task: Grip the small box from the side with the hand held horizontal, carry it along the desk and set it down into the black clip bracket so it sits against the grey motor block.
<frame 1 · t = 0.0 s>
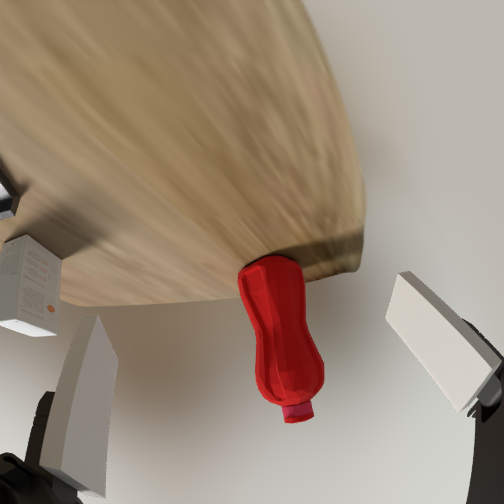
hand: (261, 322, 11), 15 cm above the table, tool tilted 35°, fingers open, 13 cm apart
small box: (33, 250, 29), on the table
water bottle: (270, 266, 47), on the table
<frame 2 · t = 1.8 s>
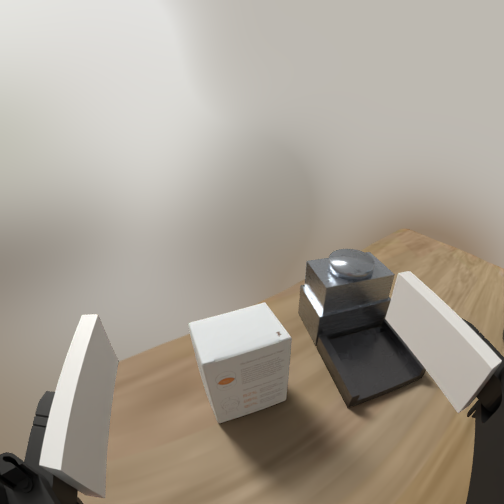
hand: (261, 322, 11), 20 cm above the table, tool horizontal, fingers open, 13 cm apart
small box: (243, 396, 29), on the table
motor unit: (369, 364, 32), on the table
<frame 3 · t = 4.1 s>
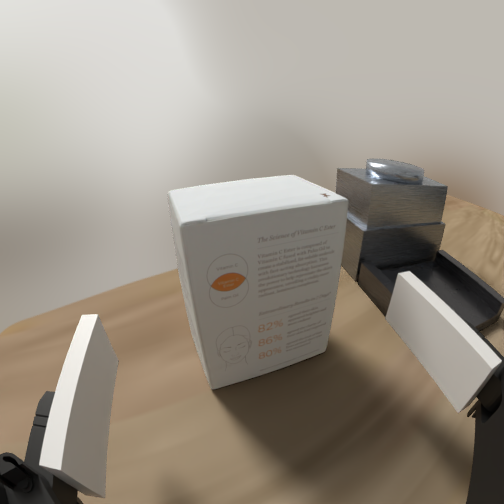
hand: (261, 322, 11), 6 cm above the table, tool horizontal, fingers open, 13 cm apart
small box: (255, 347, 19), on the table
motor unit: (432, 303, 21), on the table
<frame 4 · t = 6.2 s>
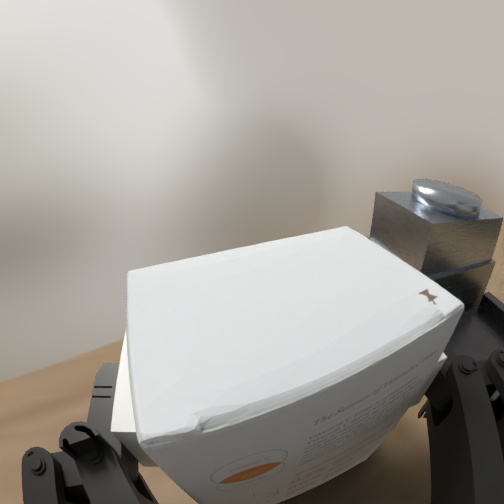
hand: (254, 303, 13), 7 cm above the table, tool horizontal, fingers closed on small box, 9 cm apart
small box: (275, 455, 12), on the table, touching gripper
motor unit: (482, 365, 14), on the table
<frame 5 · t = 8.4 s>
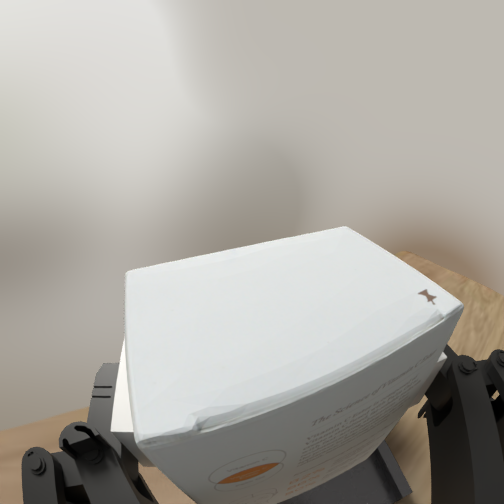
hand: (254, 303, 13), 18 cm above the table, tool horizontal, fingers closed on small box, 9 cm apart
small box: (275, 456, 12), point 11 cm above the table, touching gripper
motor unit: (328, 480, 18), on the table
when the fingers open (9 cm above the table, at t = 10.9 s): small box drops 1 cm, resting on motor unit.
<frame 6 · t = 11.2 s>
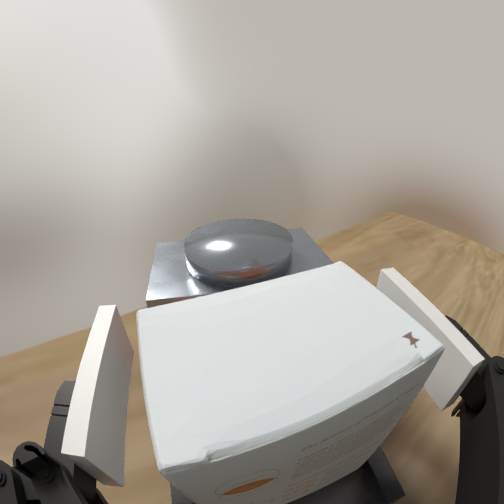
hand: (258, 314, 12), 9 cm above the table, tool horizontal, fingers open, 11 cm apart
small box: (273, 464, 12), point 1 cm above the table, touching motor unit
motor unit: (273, 468, 13), on the table
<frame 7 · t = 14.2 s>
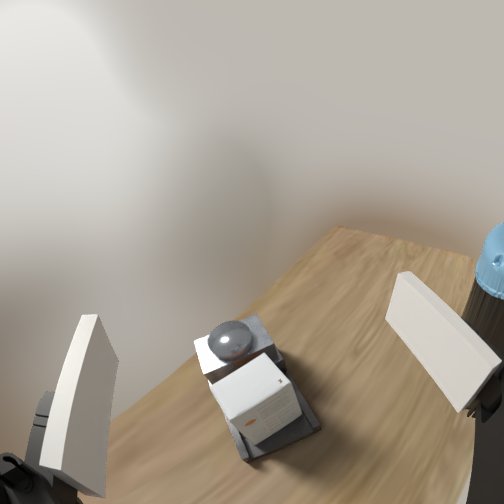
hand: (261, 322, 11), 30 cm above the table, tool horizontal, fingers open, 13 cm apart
small box: (268, 418, 35), point 1 cm above the table, touching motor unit
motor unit: (270, 419, 35), on the table
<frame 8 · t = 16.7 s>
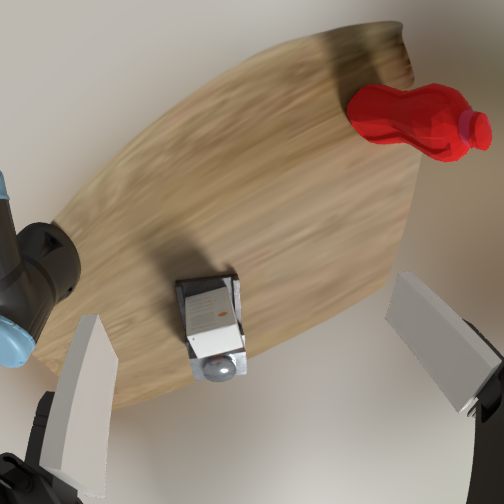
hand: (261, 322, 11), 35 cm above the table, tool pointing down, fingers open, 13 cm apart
small box: (209, 302, 52), point 1 cm above the table, touching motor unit
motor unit: (209, 299, 52), on the table
water bottle: (370, 110, 42), on the table
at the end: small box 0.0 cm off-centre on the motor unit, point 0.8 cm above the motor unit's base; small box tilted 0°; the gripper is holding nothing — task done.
